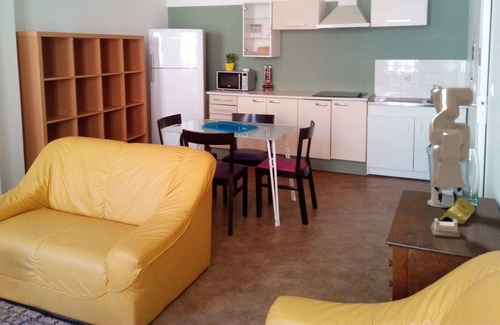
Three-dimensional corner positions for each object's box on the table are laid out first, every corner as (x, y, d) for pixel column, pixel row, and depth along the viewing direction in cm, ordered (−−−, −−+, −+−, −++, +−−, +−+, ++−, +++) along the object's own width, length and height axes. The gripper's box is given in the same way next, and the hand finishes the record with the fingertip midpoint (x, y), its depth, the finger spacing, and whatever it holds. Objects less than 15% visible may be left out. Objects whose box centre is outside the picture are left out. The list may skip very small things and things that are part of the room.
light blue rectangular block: (442, 205, 219) (442, 196, 218) (440, 198, 229) (441, 189, 228) (453, 206, 217) (454, 197, 217) (451, 199, 228) (451, 190, 227)
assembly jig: (430, 227, 232) (430, 222, 232) (456, 229, 230) (456, 223, 229) (433, 235, 223) (433, 230, 222) (460, 237, 220) (460, 231, 220)
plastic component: (465, 220, 234) (445, 208, 238) (457, 232, 238) (438, 220, 242) (477, 206, 249) (458, 195, 253) (469, 218, 252) (451, 206, 257)
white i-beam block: (433, 228, 230) (434, 217, 228) (455, 229, 227) (456, 219, 226) (435, 232, 225) (435, 221, 224) (457, 233, 223) (457, 222, 222)
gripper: (429, 162, 217) (427, 203, 221) (472, 163, 214) (469, 205, 218) (427, 158, 224) (425, 198, 228) (469, 159, 221) (466, 200, 225)
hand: (447, 201), depth 223 cm, fingers closed on light blue rectangular block, 4 cm apart
